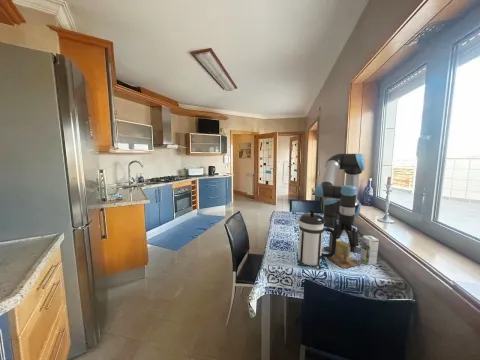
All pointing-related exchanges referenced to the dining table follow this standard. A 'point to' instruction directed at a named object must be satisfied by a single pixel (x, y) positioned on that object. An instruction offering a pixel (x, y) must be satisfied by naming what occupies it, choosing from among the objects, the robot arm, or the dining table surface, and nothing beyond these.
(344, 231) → the stand
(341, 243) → the c link
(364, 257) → the syrup box
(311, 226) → the coffee press
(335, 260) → the coaster
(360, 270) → the dining table surface
